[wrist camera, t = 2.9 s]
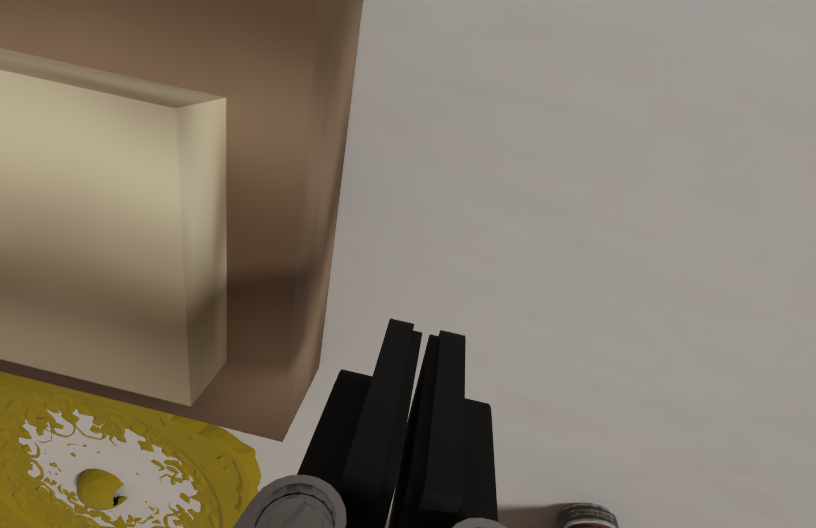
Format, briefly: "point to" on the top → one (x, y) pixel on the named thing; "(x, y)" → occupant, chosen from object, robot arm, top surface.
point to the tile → (112, 227)
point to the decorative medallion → (54, 524)
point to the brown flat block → (236, 168)
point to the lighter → (585, 517)
